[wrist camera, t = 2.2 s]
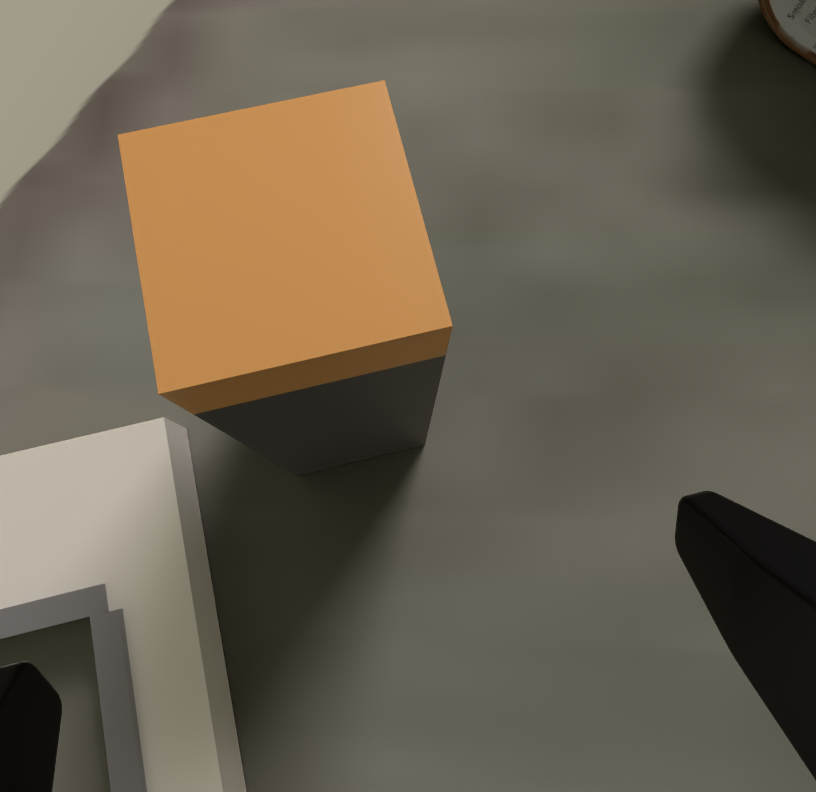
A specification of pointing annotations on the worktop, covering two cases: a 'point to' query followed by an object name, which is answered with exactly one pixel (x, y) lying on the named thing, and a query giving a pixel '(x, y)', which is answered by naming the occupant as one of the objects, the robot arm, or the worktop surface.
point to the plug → (290, 276)
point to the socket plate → (126, 596)
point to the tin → (793, 24)
